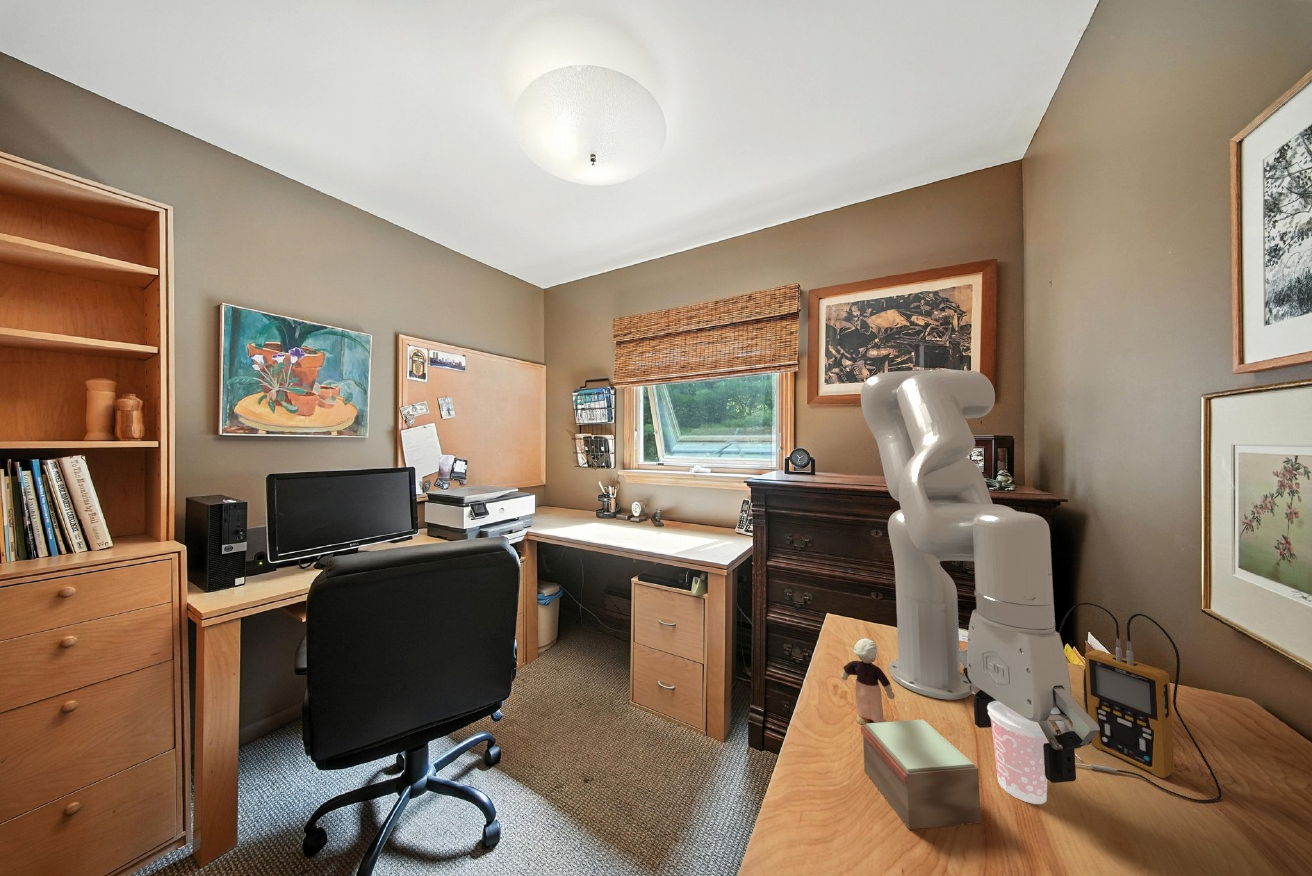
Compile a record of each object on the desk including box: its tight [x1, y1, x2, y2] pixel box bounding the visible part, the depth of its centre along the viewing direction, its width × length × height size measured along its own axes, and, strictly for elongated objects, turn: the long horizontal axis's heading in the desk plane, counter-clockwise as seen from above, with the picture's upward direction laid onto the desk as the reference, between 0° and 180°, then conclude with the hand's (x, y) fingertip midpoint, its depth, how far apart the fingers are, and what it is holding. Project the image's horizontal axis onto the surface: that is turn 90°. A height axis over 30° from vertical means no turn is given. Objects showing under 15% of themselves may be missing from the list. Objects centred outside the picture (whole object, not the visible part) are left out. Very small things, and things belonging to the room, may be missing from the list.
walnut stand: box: [860, 719, 982, 830], centre depth 51 cm, size 9×9×6 cm
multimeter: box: [1055, 602, 1223, 803], centre depth 55 cm, size 15×10×20 cm
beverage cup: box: [987, 701, 1049, 805], centre depth 52 cm, size 6×6×14 cm
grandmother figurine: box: [840, 637, 895, 726], centre depth 65 cm, size 8×4×13 cm, turn 57°
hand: (1020, 750), depth 52 cm, fingers open, 9 cm apart
